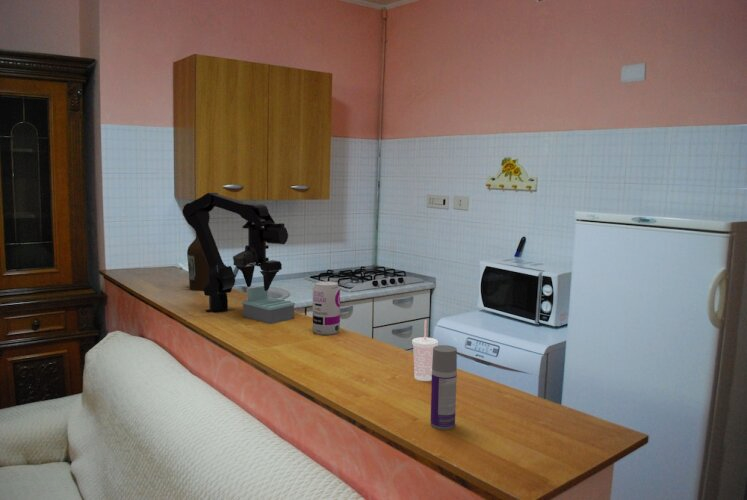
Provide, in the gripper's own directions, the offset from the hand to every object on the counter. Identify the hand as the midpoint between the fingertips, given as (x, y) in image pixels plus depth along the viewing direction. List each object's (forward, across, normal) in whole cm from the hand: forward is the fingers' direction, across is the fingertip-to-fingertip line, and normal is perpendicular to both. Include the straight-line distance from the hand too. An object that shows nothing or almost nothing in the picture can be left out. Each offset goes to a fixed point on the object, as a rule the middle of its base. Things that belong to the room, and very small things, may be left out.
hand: (257, 288), depth 193 cm
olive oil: (+10, -55, +14) cm, 58 cm away
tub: (+9, +6, 0) cm, 11 cm away
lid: (+4, +6, 0) cm, 7 cm away
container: (+9, +95, -30) cm, 100 cm away
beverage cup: (+9, +77, -11) cm, 78 cm away
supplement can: (+9, +31, +2) cm, 32 cm away
